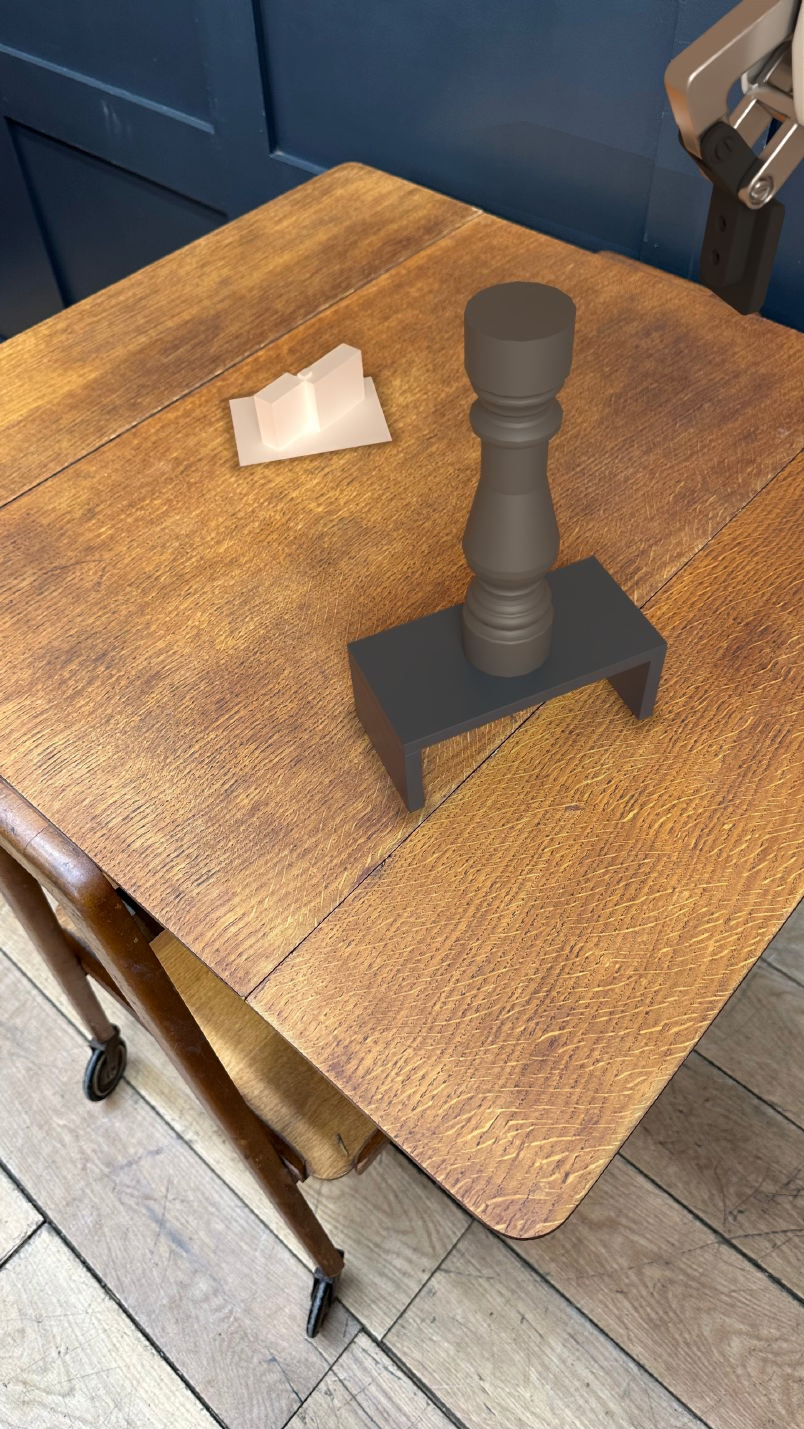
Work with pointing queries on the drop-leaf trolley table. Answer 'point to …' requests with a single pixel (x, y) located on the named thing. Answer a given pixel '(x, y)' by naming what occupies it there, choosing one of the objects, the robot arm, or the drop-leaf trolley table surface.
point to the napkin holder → (310, 411)
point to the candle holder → (513, 471)
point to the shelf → (459, 697)
